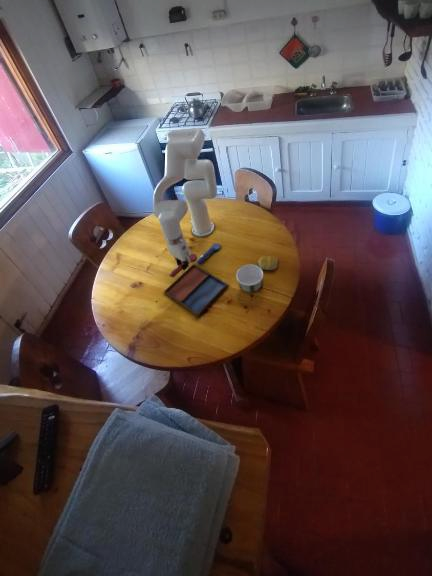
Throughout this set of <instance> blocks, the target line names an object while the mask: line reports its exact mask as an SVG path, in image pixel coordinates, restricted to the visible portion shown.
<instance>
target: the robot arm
mask: <svg viewBox="0 0 432 576" xmlns="http://www.w3.org/2000/svg"><path fill="white" fill-rule="evenodd" d="M205 138H206V137H205V131H203V130H202V129H201V128H199V127H197V128H195V127H194V128H182V129H172V130H170V131H168V132H167V133H166V141H167V143H166V145H165V156H164V158H165V159H164V176H163V177H162V178H161V180H160V181H159V182H158V183H157V185H156V187H155V189H154V192H153V195H152V196H153V197H152V198H153V199H152V211H153V215H154V216H155V217H156V218H158V222H159V225H160V228H161V230H162V234H163V237H164V239H165V244H166V248H167V250H168V253H169V254H170V255H171V256H173V258H174V260H175V262H176V266H179V265H180V264H181V263H182V264H181V265H182V268H183V269H182V271H186V270H187V269H189V268H190V267H189V266H190V265H189V264H190V263H192V262H191V260H190V258H189V256H191V254H192V253H191V249H190V247H189V244H188V242H187V240H186V238H185V237H184V233H183V230H182V226H181V224H180V223H181V222H182V220H183V219H184V218H185V216H186V215H187V213H188V211H189V213H190V221H189V223H190V224H192V226H191V232H192V234H193V235H194V236H196V237H206V236H209V235H211V234H212V233H213V232H214V231H215V224H214V222H212V221H211V218H210V213H209V210H208V205H207V201H206V200H210V199H215V198H216V197H217V195H218V187H217V179H216V172H215V167H214V164H213V161H211V160H210V159H198V157H200V155H201V152H202V149H203V147H204V145H205V140H206V139H205ZM183 179H185V180H187V181H186V182H185V183H183V185H182V188H181V189H182V194H183V197H184V199H185V200H186V201H185V200H183V199H168V200H167V199H166V200H163V196H164V194H165V193H166V190H168V188H170V187H171V186H173V185H175V184H176V183H178V182H181V181H183ZM188 263H189V264H188Z"/></svg>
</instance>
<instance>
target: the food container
mask: <svg viewBox="0 0 432 576" xmlns="http://www.w3.org/2000/svg"><path fill="white" fill-rule="evenodd" d="M235 278H236V281H238V282H239V285H240V286H241V289H242V290H243V291H245V292H247V293H253V292H256V291H258V290H259V289H260V288H261V286H262V281H263V278H264V271H263V269H262V268H261V267H260V266H259V265H256V264H245V265H242V266H241V267H240V268H238V270H237V271H236V276H235Z"/></svg>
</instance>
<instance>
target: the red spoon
mask: <svg viewBox="0 0 432 576" xmlns="http://www.w3.org/2000/svg"><path fill="white" fill-rule="evenodd" d="M189 258H190V260H191V262H190V263H195V262H197V260H198V255H197V253H191V256H189ZM190 263H188V265H189V264H190ZM181 264H182V263H181ZM181 264H180V265H179V266H178V265H176V267H174V269H173V270H171V272H170V273H169V276H170V278H175V277H176V276H177V275H179V274H180V272H182V271H183V268H182V265H181Z"/></svg>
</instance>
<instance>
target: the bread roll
mask: <svg viewBox="0 0 432 576" xmlns="http://www.w3.org/2000/svg"><path fill="white" fill-rule="evenodd" d="M278 261H279V260H278V259H277V257H276V256H274V255H269V256H268V255H261V257H259V259H258V261H257V262H258V263H257V264H258V267H260V268H261V269H262V271H263V270H264V271H274V270H275V269H276V268H277V267H278Z"/></svg>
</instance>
